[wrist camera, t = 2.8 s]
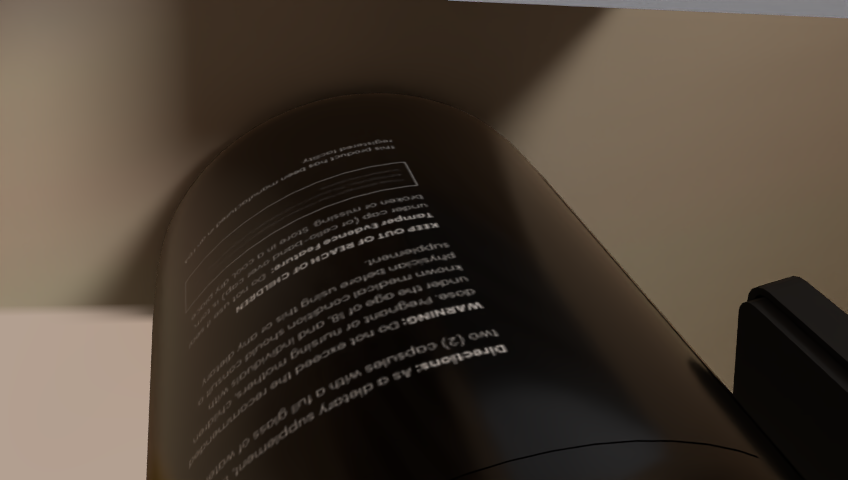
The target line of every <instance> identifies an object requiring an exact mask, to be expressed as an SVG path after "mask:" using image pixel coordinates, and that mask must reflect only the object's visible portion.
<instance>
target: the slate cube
mask: <svg viewBox="0 0 848 480" xmlns="http://www.w3.org/2000/svg"><path fill="white" fill-rule="evenodd" d="M450 1H472V2H495V3H517V4H540V5H562V6H585V7H607V8H630V9H652V10H675V11H697V12H720V13H742V14H765V15H787V16H810V17H832V18H848V0H450Z"/></svg>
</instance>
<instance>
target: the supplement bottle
mask: <svg viewBox="0 0 848 480" xmlns="http://www.w3.org/2000/svg"><path fill="white" fill-rule="evenodd" d="M148 429H149V430H148V455H147V478H146V480H807V479H806V478H805V477H804V476H803V475H802V474H801V472H800V471H799V470H798V469H797V468H796V467H795V465H794V464H793V463H792V462H791V461H790V460H789V459H788V457H787V456H786V455H785V454H784V453H783V452H782V451H781V449H780V448H779V447H778V446H777V445H776V444H775V442H774V441H773V440H772V439H771V438H770V437H769V436H768V434H767V433H766V432H765V431H764V430H763V429H762V427H761V426H760V425H759V424H758V423H757V422H756V421H755V419H754V418H753V417H752V416H751V415H750V414H749V413H748V411H747V410H746V409H745V408H744V407H743V406H742V404H741V403H740V402H739V401H738V400H737V399H736V398H735V396H734V395H733V394H732V393H731V392H730V391H729V390H728V388H727V387H726V386H725V385H724V384H723V383H722V381H721V380H720V379H719V378H718V377H717V376H716V375H715V373H714V372H713V371H712V370H711V369H710V368H709V367H708V365H707V364H706V363H705V362H704V361H703V360H702V358H701V357H700V356H699V355H698V354H697V353H696V352H695V350H694V349H693V348H692V347H691V346H690V345H689V344H688V342H687V341H686V340H685V339H684V338H683V337H682V335H681V334H680V333H679V332H678V331H677V330H676V329H675V327H674V326H673V325H672V324H671V323H670V322H669V321H668V319H667V318H666V317H665V316H664V315H663V314H662V313H661V311H660V310H659V309H658V308H657V307H656V306H655V304H654V303H653V302H652V301H651V300H650V299H649V298H648V296H647V295H646V294H645V293H644V292H643V291H642V290H641V288H640V287H639V286H638V285H637V284H636V283H635V281H634V280H633V279H632V278H631V277H630V276H629V275H628V273H627V272H626V271H625V270H624V269H623V268H622V267H621V265H620V264H619V263H618V262H617V261H616V260H615V258H614V257H613V256H612V255H611V254H610V253H609V252H608V250H607V249H606V248H605V247H604V246H603V245H602V244H601V242H600V241H599V240H598V239H597V238H596V237H595V235H594V234H593V233H592V232H591V231H590V230H589V229H588V227H587V226H586V225H585V224H584V223H583V222H582V221H581V219H580V218H579V217H578V216H577V215H576V214H575V213H574V211H573V210H572V209H571V208H570V207H569V206H568V204H567V203H566V202H565V201H564V200H563V199H562V198H561V196H560V195H559V194H558V193H557V192H556V191H555V190H554V188H553V187H552V186H551V185H550V184H549V183H548V182H547V180H546V179H545V178H544V177H543V176H542V175H541V174H540V173H539V172H538V171H537V170H536V169H535V168H534V167H533V165H532V164H531V163H530V162H529V161H528V160H527V159H526V158H525V157H524V156H523V155H522V154H521V153H520V152H519V151H518V150H517V148H516V147H515V146H514V145H513V144H511V143H510V142H509V141H508V140H507V139H505V138H504V137H503V136H502V135H501V134H499V133H498V132H497V131H496V130H494V129H493V128H492V127H490V126H489V125H487V124H486V123H484V122H483V121H481V120H479V119H478V118H476V117H474V116H472V115H470V114H468V113H466V112H464V111H462V110H460V109H457V108H455V107H452V106H449V105H447V104H444V103H441V102H437V101H433V100H429V99H425V98H422V97H416V96H410V95H403V94H392V93H361V94H351V95H344V96H336V97H332V98H327V99H323V100H319V101H315V102H311V103H308V104H305V105H302V106H299V107H296V108H293V109H291V110H289V111H286V112H284V113H282V114H280V115H277V116H275V117H273V118H271V119H269V120H267V121H266V122H264V123H262V124H260V125H259V126H257V127H255V128H253V129H252V130H250V131H249V132H247V133H246V134H244V135H243V136H242V137H240V138H239V139H237V140H236V141H235V142H233V143H232V144H231V145H230V146H229V147H227V148H226V149H225V150H224V151H223V152H221V153H220V154H219V155H218V156H217V157H216V158H215V159H214V160H213V161H212V162H211V163H210V164H209V165H208V166H207V167H206V168H205V169H204V171H203V172H202V173H201V174H200V176H199V177H198V178H197V180H196V181H195V182H194V183H193V185H192V186H191V187H190V188H189V190H188V191H187V193H186V195H185V196H184V198H183V199H182V201H181V203H180V204H179V206H178V208H177V210H176V212H175V214H174V216H173V218H172V220H171V222H170V224H169V227H168V230H167V233H166V235H165V238H164V241H163V245H162V249H161V254H160V258H159V263H158V268H157V277H156V286H155V300H154V313H153V330H152V355H151V380H150V404H149V428H148Z"/></svg>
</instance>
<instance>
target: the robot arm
mask: <svg viewBox="0 0 848 480" xmlns="http://www.w3.org/2000/svg"><path fill="white" fill-rule="evenodd" d="M733 395H734V396H735V398H736V399H737V400H738V401H739V402H740V403H741V404H742V406H743V407H744V408H745V409H746V410H747V411H748V413H749V414H750V415H751V416H752V417H753V418H754V419H755V421H756V422H757V423H758V424H759V425H760V426H761V427H762V429H763V430H764V431H765V432H766V433H767V434H768V436H769V437H770V438H771V439H772V440H773V441H774V442H775V444H776V445H777V446H778V447H779V448H780V449H781V451H782V452H783V453H784V454H785V455H786V456H787V457H788V459H789V460H790V461H791V462H792V463H793V464H794V465H795V467H796V468H797V469H798V470H799V471H800V472H801V474H802V475H803V476H804V477H805V478H806V479H807V480H848V315H847V314H846V313H845V312H843V311H842V310H841V309H840V308H839V307H837V306H836V305H835V304H834V303H832V302H831V301H830V300H829V299H827V298H826V297H825V296H824V295H823V294H821V293H820V292H819V291H818V290H816V289H815V288H814V287H813V286H811V285H810V284H809V283H808V282H807V281H805V280H803V279H802V278H800V277H796V276H792V277H789V278H785V279H782V280H778V281H775V282H772V283H768V284H765V285H762V286H758V287H756V288H753V289H752V290H751V291H750V293H749V295H748V300H747V302H744V303H742V304H741V306H740V308H739V316H738V330H737V345H736V359H735V374H734V388H733Z"/></svg>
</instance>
